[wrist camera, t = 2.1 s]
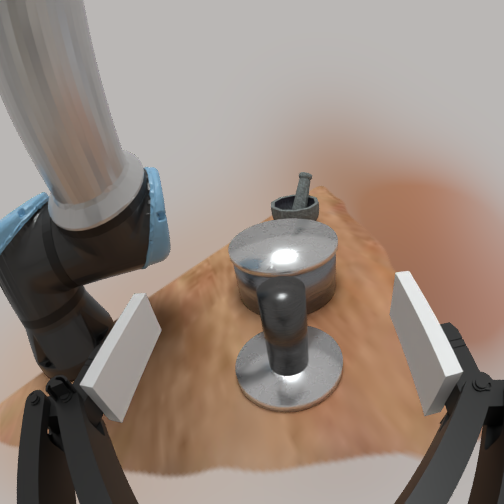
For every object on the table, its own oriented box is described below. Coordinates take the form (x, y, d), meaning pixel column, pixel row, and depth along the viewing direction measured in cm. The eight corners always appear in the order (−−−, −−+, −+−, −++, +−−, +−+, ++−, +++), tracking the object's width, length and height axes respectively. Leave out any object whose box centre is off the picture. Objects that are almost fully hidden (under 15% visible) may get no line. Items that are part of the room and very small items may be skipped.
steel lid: (218, 368, 33) (191, 293, 28) (291, 320, 39) (283, 244, 34) (285, 433, 25) (274, 363, 19) (362, 363, 30) (373, 282, 25)
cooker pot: (219, 289, 48) (208, 246, 44) (288, 251, 56) (284, 211, 52) (285, 336, 36) (279, 286, 33) (357, 280, 44) (359, 234, 40)
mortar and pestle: (304, 248, 56) (298, 187, 50) (265, 238, 62) (257, 183, 56) (331, 225, 63) (328, 171, 57) (295, 218, 69) (289, 168, 63)
